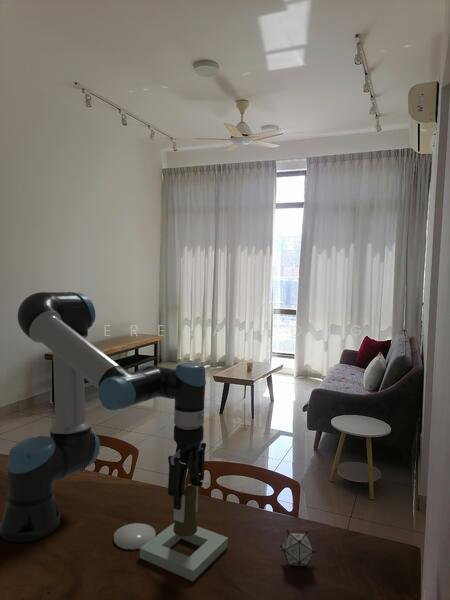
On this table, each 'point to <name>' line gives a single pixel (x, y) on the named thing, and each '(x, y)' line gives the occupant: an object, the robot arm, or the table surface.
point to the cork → (187, 514)
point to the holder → (178, 562)
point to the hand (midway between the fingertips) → (185, 515)
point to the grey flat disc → (133, 536)
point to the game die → (297, 549)
